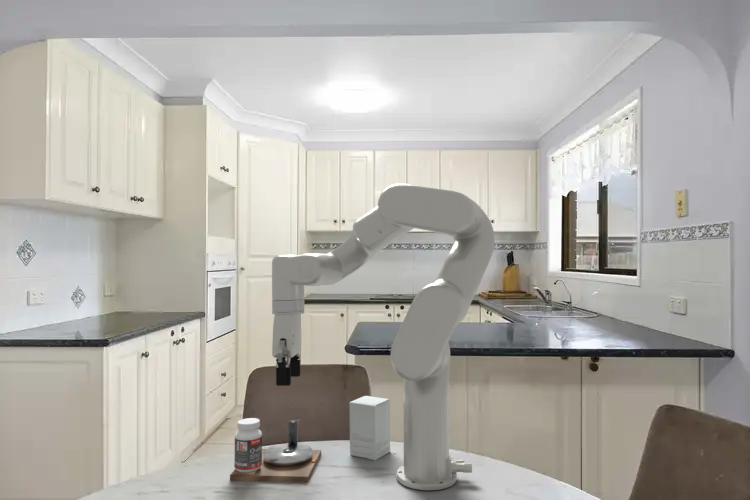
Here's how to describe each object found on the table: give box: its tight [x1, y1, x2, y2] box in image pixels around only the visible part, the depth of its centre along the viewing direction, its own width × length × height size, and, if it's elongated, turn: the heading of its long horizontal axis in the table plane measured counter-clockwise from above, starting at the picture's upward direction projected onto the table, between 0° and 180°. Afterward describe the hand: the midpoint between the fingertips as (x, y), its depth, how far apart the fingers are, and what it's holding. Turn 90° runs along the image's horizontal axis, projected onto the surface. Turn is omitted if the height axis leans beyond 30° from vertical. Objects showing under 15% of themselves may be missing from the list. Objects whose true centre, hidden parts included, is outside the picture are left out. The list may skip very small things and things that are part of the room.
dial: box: [263, 419, 314, 466], centre depth 114 cm, size 11×11×6 cm
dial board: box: [229, 448, 322, 484], centre depth 112 cm, size 16×16×2 cm
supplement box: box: [348, 395, 391, 461], centre depth 121 cm, size 7×7×13 cm
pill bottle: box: [233, 417, 263, 472], centre depth 108 cm, size 6×6×10 cm
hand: (288, 380), depth 118 cm, fingers open, 9 cm apart
